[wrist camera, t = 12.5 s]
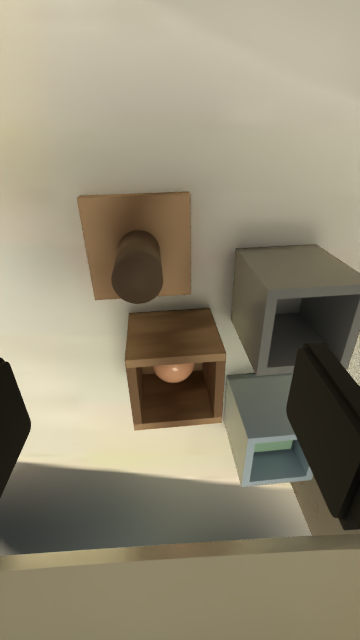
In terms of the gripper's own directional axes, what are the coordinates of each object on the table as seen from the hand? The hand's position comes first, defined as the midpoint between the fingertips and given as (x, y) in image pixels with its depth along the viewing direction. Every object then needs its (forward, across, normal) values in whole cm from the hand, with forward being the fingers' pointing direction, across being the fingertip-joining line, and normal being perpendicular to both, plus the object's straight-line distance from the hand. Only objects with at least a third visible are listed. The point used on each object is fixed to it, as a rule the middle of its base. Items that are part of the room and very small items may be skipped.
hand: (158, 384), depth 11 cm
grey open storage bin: (+14, -8, +3) cm, 17 cm away
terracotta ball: (+14, 0, +8) cm, 16 cm away
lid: (+14, +1, 0) cm, 14 cm away
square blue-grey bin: (+14, -8, +15) cm, 23 cm away
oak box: (+14, 0, +8) cm, 16 cm away
